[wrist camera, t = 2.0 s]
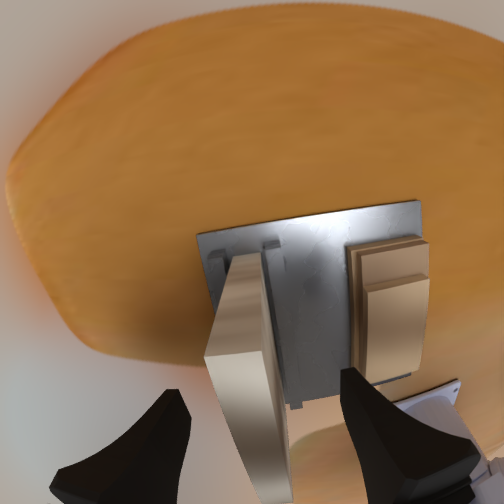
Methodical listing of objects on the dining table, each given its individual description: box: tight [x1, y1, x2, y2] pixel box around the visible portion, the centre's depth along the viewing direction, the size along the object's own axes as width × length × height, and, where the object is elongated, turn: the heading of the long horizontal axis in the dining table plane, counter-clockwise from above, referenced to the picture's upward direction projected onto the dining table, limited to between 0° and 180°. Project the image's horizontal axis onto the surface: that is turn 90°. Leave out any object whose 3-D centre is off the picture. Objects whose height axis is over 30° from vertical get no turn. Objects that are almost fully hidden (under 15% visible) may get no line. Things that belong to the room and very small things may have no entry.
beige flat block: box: [204, 252, 293, 504], centre depth 13 cm, size 10×2×9 cm, turn 10°
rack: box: [196, 200, 422, 410], centre depth 16 cm, size 13×13×2 cm
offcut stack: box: [347, 235, 430, 384], centre depth 15 cm, size 9×5×2 cm, turn 10°
